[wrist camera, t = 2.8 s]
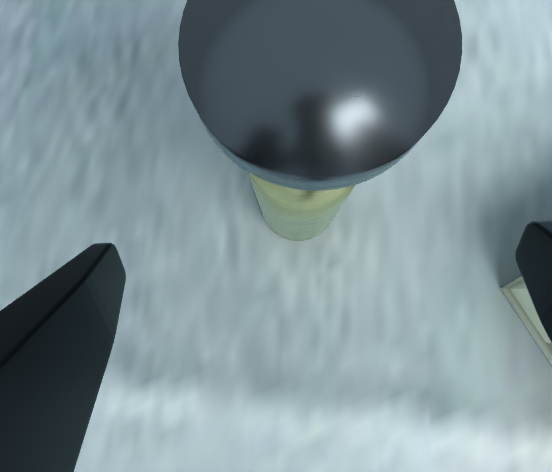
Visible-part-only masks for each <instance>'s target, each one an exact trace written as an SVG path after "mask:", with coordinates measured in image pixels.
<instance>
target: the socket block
mask: <svg viewBox="0 0 552 472" xmlns="http://www.w3.org/2000/svg"><path fill="white" fill-rule="evenodd" d="M501 290H502V292H503V293H504V295H505V296H506V298H507V299H508V301H509V302H510V304H511V305H512V307H513V308H514V310H515V311H516V313H517V314H518V316H519V317H520V319H521V320H522V322H523V323H524V325H525V326H526V328H527V329H528V331H529V332H530V334H531V335H532V337H533V338H534V340H535V341H536V343H537V344H538V346H539V347H540V349H541V350H542V352H543V353H544V355H545V356H546V358H547V359H548V361H549V362H550V364H551V365H552V343H551V341H550V339H549V337H548V335H547V333H546V331H545V329H544V327H543V325H542V323H541V321H540V319H539V317H538V315H537V312H536V310H535V307H534V305H533V302H532V300H531V297H530V295H529V292H528V290H527V287H526V285H525V282H524V280H523V277H522V276H520V277H519V278H517V279H515V280H514V281H512V282H510V283H509V284H507V285H506V286H504V287H502V288H501Z"/></svg>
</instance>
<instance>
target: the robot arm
mask: <svg viewBox="0 0 552 472" xmlns="http://www.w3.org/2000/svg"><path fill="white" fill-rule="evenodd" d="M516 261H517V264H518V267H519V269H520V272H521V274H522V277H523V280H524V282H525V285H526V287H527V290H528V292H529V295H530V297H531V300H532V302H533V305H534V307H535V310H536V312H537V315H538V317H539V319H540V321H541V323H542V325H543V327H544V329H545V331H546V333H547V335H548V337H549V339H550V341H551V343H552V221H532V222H530V223H529V224H528V225H527V226H526V228H525V230H524V233H523V235H522V237H521V240H520V242H519V245H518V247H517V250H516ZM125 280H126V273H125V269H124V267H123V264H122V261H121V259H120V256H119V254H118V251H117V249H116V247H115V245H114V244H112V243H97V244H93V245H91V246H90V247H88V248H87V249H86V250H84V251H83V252H81V253H80V254H79V255H77V256H76V257H75V258H73V259H72V260H70V261H69V262H68V263H66V264H65V265H63V266H62V267H61V268H59V269H58V270H57V271H55V272H54V273H52V274H51V275H50V276H48V277H47V278H45V279H44V280H43V281H41V282H40V283H38V284H37V285H36V286H34V287H33V288H32V289H30V290H29V291H27V292H26V293H25V294H23V295H22V296H20V297H19V298H18V299H16V300H15V301H14V302H12V303H11V304H9V305H8V306H7V307H5V308H4V309H2V310H1V311H0V472H74V469H75V465H76V462H77V459H78V456H79V453H80V449H81V446H82V443H83V440H84V437H85V433H86V430H87V427H88V424H89V420H90V417H91V414H92V411H93V408H94V404H95V401H96V398H97V395H98V392H99V388H100V385H101V382H102V379H103V376H104V372H105V369H106V366H107V363H108V359H109V356H110V353H111V350H112V346H113V343H114V339H115V334H116V329H117V324H118V319H119V313H120V308H121V302H122V297H123V291H124V286H125Z"/></svg>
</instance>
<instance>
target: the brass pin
mask: <svg viewBox="0 0 552 472" xmlns="http://www.w3.org/2000/svg"><path fill="white" fill-rule="evenodd" d="M178 44H179V62H180V67H181V72H182V77H183V80H184V83H185V86H186V89H187V92H188V95H189V97H190V99H191V101H192V102H193V104H194V106H195V108H196V110H197V112H198V114H199V116H200V118H201V120H202V122H203V124H204V126H205V128H206V130H207V132H208V133H209V134H210V136H211V137H212V139H213V140H214V142H215V143H216V144H217V146H218V147H219V148H220V149H221V150H222V151H223V152H224V153H225V154H226V155H227V156H228V157H229V158H230V159H231V160H232V161H234V162H235V163H236V164H237V165H238V166H240V167H241V168H243V169H244V170H246V171H248V174H249V177H250V180H251V182H252V185H253V188H254V191H255V194H256V197H257V200H258V203H259V206H260V208H261V211H262V214H263V217H264V219H265V221H266V223H267V225H268V226H269V227H270V228H271V230H272V231H274V232H275V233H276V234H277V235H279V236H281V237H283V238H285V239H288V240H294V241H303V240H308V239H311V238H314V237H316V236H318V235H319V234H320V233H322V232H323V231H324V230H325V229H326V228H327V227H328V225H329V224H330V222H331V221H332V219H333V218H334V216H335V215H336V213H337V212H338V210H339V209H340V207H341V206H342V204H343V203H344V201H345V200H346V198H347V197H348V195H349V194H350V192H351V191H352V189H353V188H354V186H355V185H356V184H359V183H361V182H364V181H367V180H369V179H371V178H373V177H375V176H377V175H379V174H381V173H383V172H384V171H386V170H387V169H389V168H390V167H392V166H393V165H395V164H396V163H397V162H398V161H399V160H400V159H402V158H403V157H404V156H405V155H406V154H407V153H408V152H409V151H410V150H411V149H412V148H413V147H414V146H415V144H416V143H417V142H418V141H419V140H420V139H421V138H422V137H423V136H424V134H425V133H426V132H427V131H428V130H429V129H430V127H431V126H432V125H433V124H434V123H435V121H436V120H437V119H438V118H439V116H440V114H441V113H442V111H443V110H444V108H445V106H446V105H447V103H448V101H449V99H450V96H451V94H452V92H453V90H454V87H455V84H456V81H457V77H458V74H459V70H460V63H461V56H462V33H461V26H460V19H459V15H458V12H457V9H456V5H455V2H454V0H187V3H186V6H185V8H184V11H183V16H182V20H181V24H180V32H179V43H178Z"/></svg>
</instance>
